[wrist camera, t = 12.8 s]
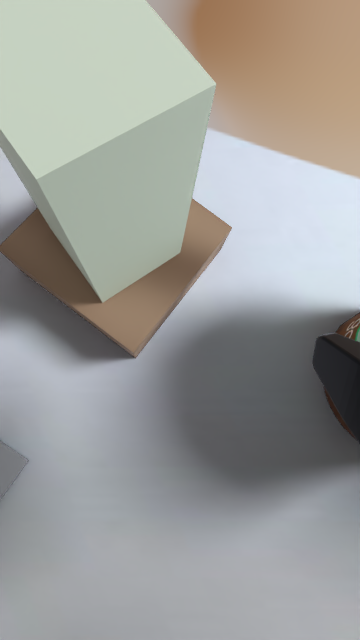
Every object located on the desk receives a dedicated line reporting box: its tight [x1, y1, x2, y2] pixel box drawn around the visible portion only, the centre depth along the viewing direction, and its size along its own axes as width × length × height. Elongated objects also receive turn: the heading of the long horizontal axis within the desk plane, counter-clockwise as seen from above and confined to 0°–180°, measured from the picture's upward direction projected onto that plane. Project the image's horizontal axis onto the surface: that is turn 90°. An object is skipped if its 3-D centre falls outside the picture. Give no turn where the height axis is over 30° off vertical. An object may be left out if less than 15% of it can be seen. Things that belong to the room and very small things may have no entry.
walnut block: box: [0, 199, 232, 358], centre depth 19 cm, size 9×9×4 cm
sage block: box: [0, 0, 216, 303], centre depth 13 cm, size 5×5×10 cm
